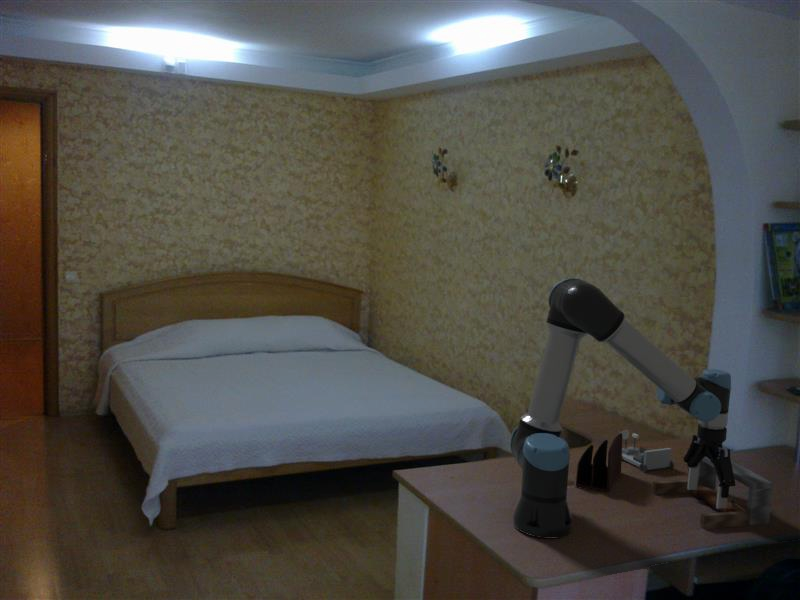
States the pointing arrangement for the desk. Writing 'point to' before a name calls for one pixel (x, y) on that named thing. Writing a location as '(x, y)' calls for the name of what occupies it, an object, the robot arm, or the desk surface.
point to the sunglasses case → (714, 499)
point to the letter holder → (600, 466)
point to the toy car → (646, 455)
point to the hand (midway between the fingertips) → (706, 498)
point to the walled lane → (707, 478)
